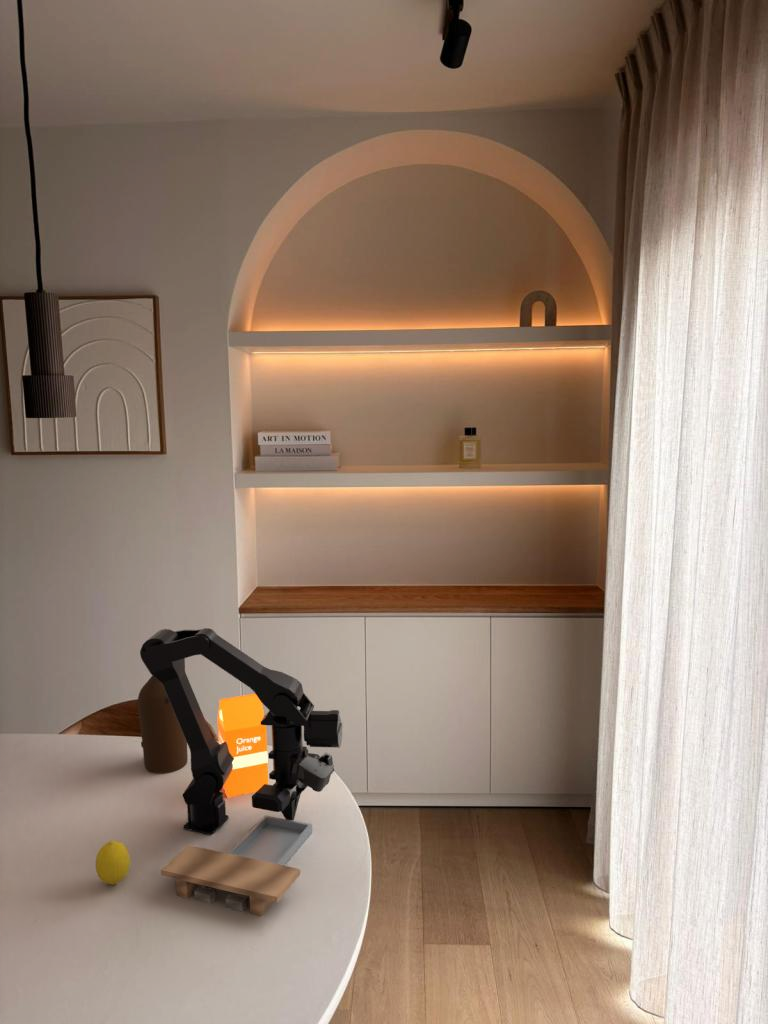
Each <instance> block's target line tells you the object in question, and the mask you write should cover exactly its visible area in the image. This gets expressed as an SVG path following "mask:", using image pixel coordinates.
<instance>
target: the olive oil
mask: <svg viewBox="0 0 768 1024" xmlns="http://www.w3.org/2000/svg"><path fill="white" fill-rule="evenodd" d="M137 709H138V717H139V725H140V733H141V735H140V736H141V741H140V744H141V745H140V746H141V749H142V752H143V763H144V768H145V770H146V771H148V772H150V773H153V774H169V773H173V772H176V771H178V770H180V769H182V768H184V767H185V766H186V765H187V764H188V744H187V742H186V739H185V737H184V734H183V732H182V730H181V727H180V725H179V723H178V720H177V718H176V716H175V713H174V711H173V708H172V706H171V704H170V701H169V699H168V697H167V694H166V692H165V689H164V687H163V685H162V683H161V682H160V681H158V680H157V679H156V678H155V677H154V676H153V675H152V674H151V676H150V677H149V678H148V680H147V682H145V684H144V685H143V686H141V688H140V691H139V693H138V697H137Z"/></svg>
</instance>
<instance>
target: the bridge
mask: <svg viewBox="0 0 768 1024" xmlns="http://www.w3.org/2000/svg"><path fill="white" fill-rule="evenodd" d="M300 875H301V869H300V868H297V867H293V866H287V865H285V866H284V865H279V864H275V863H270V862H266V861H261V860H256V859H252V858H247V857H243V856H238V855H233V854H229V852H223V851H219V850H214V849H209V848H205V847H200V846H195V845H191V844H187V845H186V846H185V847H184V848H183V849H181V850H180V851H179V852H178V853H177V854H176V855H175V856H174V857H173V858H172V859H171V860H170V861H169V862H168V863H167V864H166V865H164V866H163V867H162V868H161V869H160V876H162V877H166V878H170V879H175V883H176V884H175V885H176V896H177V897H183V898H187V899H188V898H189V896H191V895H192V894H193V893H194V900H195V901H200V902H203V903H207V904H212V902H214V901H215V900H216V890H215V889H217V890H221V891H226V892H230V893H229V895H228V896H227V897H226V898H225V908H227V909H232V910H236V911H240V912H244V910H245V909H246V908H247V906H248V898H247V897H249V911H250V914H251V915H255V916H260V917H262V916H263V914H264V913H266V911H267V910H268V908H269V907H270V906H271V905H272V904H273V903H278V902H280V900H281V899H282V898H283V897H284V896H285V894H286V892H287V891H288V890H289V889H290V888H291V887H292V885H293V883H295V881H296V880H297V879H298V878H299V877H300ZM233 893H235V894H233ZM246 896H247V897H246Z"/></svg>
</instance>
